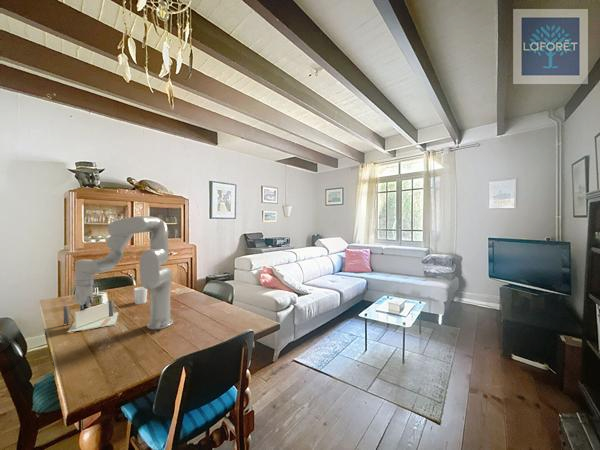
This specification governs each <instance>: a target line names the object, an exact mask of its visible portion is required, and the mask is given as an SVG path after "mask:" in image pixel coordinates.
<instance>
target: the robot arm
mask: <svg viewBox="0 0 600 450" xmlns="http://www.w3.org/2000/svg"><path fill="white" fill-rule="evenodd" d="M107 232H108V234H109V235H110V236H109V237H108V238H107V239H106V242H105V243H106V246H107V247H108V248H109V249H110V250H109V252H108V254H106V256H105V258H104V257H103V258H99V259H95V260H94V259H93V258H83V259H78V260H76V261H75V262H74V263H75V265H74V266H75V269H74V271H75V273H74V275H75V276H74V277H75V278H74V284H75V285H74V287H75V291H74V302H75V303H76V304H77V305H79V311H80V310H84V309H87V308H90V307H91V304H92V303H93V302H94V287H93V285H94V282H95V278H94V277H95V275H98V274H102V273H106V272H110V271H112V270H114V269H115V267H117V265H118V264H119V263H120V261H121V260H122V258H123V257H124V256H123V255H124V248H125V247H126V246H127V244H128V243H129V242H130V240H131V239H132V238H133V237H134V235H135V234H142V233H151V235H150V239H149V245H150V246H149V249H147V250H145V251H143V253H142V254H141V255H140V257H139V281H140V284H141V287H144V288H145V289H147V290H150V293H149V294H150V295H149V296H150V302H149V307H150V308H149V310H150V311H149V313H150V314H149V316H150V317H149V319H150V321H149V322H148V323H147V324H146V328H147V329H149V330H161V329H165V328H168V327H170V326H172V325H173V324H174V319H173V318H171V288H172V287H171V286H172V279H173V274H172V273H173V272H172V271H171V269H170V268H169V267H167V266H163V265H165V264H166V263H167V262H168V261H169V258H170V257H169V256H170V255H169V228H168V225H167V223H166V222H165V221H164V220H163V219H161V218H160V217H157V216H150V215H148V216H147V215H145V216H143V215H138V216H137V215H136V216H132V217H127V218H122V219H117V220H116V219H115V220H113V221H111V222H110V223H109V225H108V226H107ZM161 265H162V266H161Z"/></svg>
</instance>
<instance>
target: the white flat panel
mask: <svg viewBox="0 0 600 450" xmlns="http://www.w3.org/2000/svg"><path fill="white" fill-rule="evenodd" d="M73 314H74V315H73V323H74V328H78V327H80V326H83V325H86V324H89V323H92V322H94V321H97V320H100V319H103V318H106V317H108V316H109V301H107V302H104V303H101V304H97V305H95V306H89V308H87V309H84V310H80V309H79V310H78V311H74V312H73Z"/></svg>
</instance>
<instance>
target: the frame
mask: <svg viewBox="0 0 600 450" xmlns="http://www.w3.org/2000/svg"><path fill="white" fill-rule="evenodd" d="M108 303H109V316H108V317H106V318H103V319H100V320H97V321H94V322H92V323H89V324H86V325H83V326H80V327H78V328H74V322H73V323H72V324H71V326H70V327H69V329H68V330H67V332H71V331H79V330H86V329H92V328H98V327H104V326H110V327H112V326H111V325H115V326H116V324H117V320H118V317H119V312H118V311H117V312H114V300H113V299H111V300H108ZM69 311H70V306H69V305H66V306H63V325H64V324H68V323H69V324H70V319H69V318H70V316H69V315H70V312H69ZM117 316H118V317H117ZM104 328H105V327H104Z"/></svg>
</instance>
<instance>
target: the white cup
mask: <svg viewBox="0 0 600 450" xmlns="http://www.w3.org/2000/svg"><path fill="white" fill-rule="evenodd" d="M133 297H134V304H135V305H143V304H146V303H147V300H148V299H147V298H148V289H145V288H144V287H143V286H139V287H138V286H137V287H135V288H133Z"/></svg>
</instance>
